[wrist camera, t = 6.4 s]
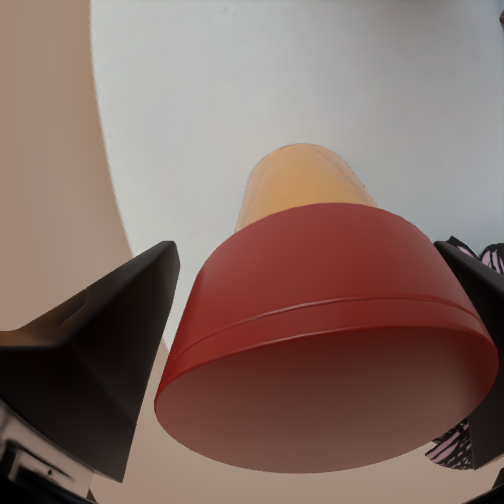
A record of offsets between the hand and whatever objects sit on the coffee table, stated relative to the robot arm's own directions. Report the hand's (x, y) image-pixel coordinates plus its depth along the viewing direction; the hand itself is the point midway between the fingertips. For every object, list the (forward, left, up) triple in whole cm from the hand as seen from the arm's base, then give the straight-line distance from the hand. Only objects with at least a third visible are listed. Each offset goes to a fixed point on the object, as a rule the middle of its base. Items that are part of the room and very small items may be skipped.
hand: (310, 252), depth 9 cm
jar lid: (0, 0, +3) cm, 3 cm away
